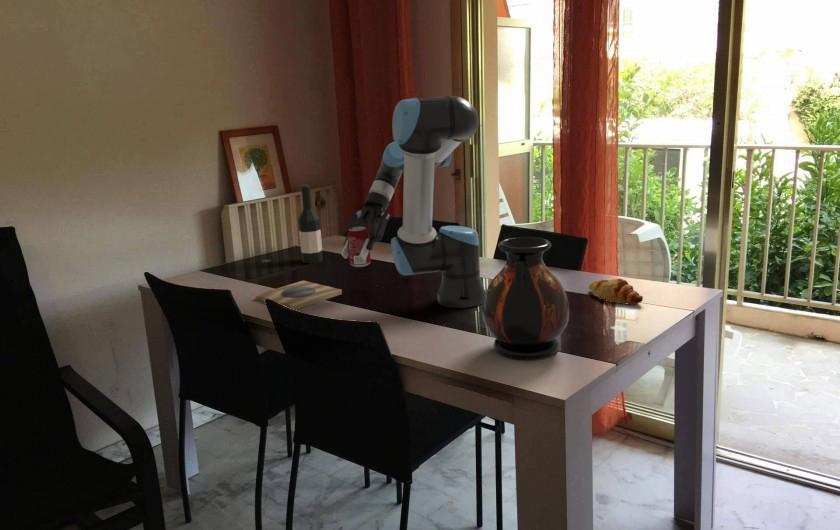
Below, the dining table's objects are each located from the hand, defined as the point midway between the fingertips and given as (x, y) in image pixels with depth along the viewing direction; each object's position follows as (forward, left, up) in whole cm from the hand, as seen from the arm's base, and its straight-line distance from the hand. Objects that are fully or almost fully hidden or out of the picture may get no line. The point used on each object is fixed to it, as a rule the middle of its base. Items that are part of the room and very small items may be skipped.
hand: (352, 257), depth 231 cm
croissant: (-67, -45, -14) cm, 82 cm away
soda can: (+1, -4, -4) cm, 5 cm away
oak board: (+18, +9, -14) cm, 25 cm away
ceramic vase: (-69, +5, -14) cm, 70 cm away
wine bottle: (+51, -24, -14) cm, 59 cm away
